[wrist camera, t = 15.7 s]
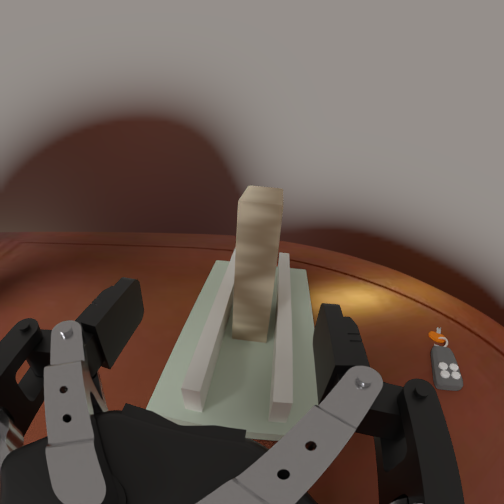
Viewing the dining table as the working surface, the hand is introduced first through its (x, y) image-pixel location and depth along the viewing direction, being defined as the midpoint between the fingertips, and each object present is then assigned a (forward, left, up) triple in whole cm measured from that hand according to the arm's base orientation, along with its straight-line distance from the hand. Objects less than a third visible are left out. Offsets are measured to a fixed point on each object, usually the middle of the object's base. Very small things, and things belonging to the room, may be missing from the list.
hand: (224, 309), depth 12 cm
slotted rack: (-4, +11, -10) cm, 15 cm away
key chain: (+15, +18, -11) cm, 26 cm away
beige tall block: (-4, +11, -9) cm, 15 cm away
